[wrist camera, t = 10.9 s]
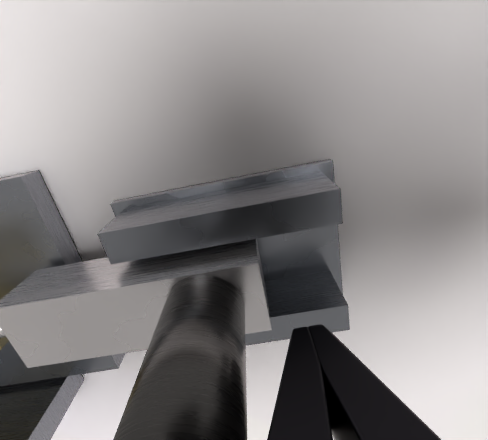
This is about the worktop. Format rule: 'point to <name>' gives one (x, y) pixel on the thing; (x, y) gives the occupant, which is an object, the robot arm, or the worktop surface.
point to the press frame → (168, 242)
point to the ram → (153, 332)
